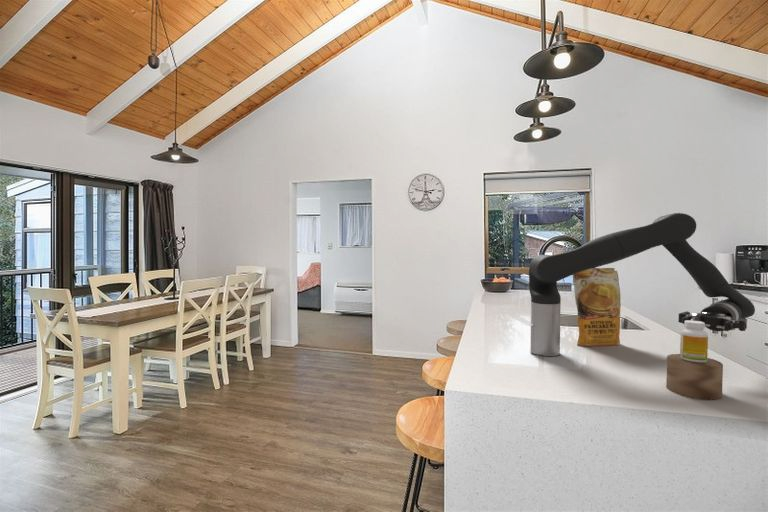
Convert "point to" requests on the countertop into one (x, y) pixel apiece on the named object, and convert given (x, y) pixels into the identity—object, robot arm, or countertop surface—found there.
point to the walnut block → (694, 378)
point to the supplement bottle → (694, 342)
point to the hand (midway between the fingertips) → (705, 324)
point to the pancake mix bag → (598, 306)
